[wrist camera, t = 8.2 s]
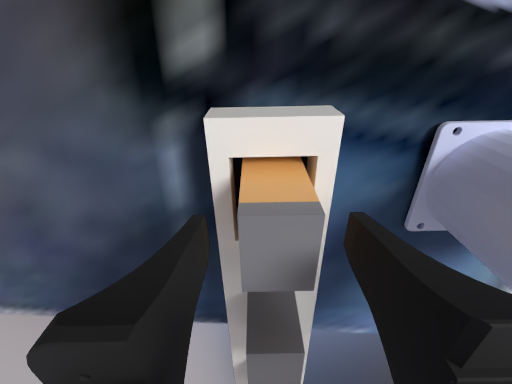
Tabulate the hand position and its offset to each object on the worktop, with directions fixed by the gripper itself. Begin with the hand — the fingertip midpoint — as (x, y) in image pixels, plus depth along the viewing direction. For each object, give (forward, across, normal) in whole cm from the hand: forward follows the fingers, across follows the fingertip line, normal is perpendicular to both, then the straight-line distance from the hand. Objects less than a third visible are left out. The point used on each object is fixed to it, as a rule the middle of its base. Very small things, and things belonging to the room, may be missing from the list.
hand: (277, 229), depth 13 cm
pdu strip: (+5, 0, +9) cm, 10 cm away
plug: (+5, 0, 0) cm, 5 cm away
